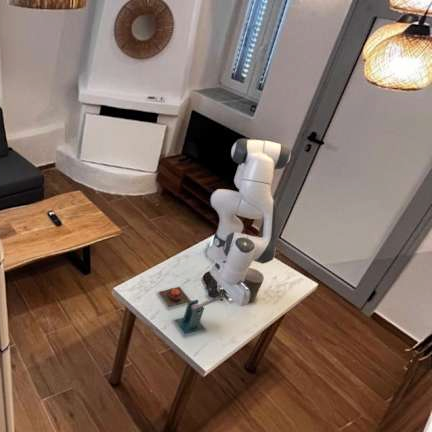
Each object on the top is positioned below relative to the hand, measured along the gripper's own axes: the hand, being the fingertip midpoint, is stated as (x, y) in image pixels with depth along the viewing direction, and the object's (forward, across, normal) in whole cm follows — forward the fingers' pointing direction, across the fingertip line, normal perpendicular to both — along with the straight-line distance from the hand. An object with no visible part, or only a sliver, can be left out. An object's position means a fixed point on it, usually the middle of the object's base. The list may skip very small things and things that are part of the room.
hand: (224, 296), depth 169 cm
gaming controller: (+15, +13, -8) cm, 21 cm away
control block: (+14, +16, +12) cm, 25 cm away
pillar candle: (+15, +8, -21) cm, 27 cm away
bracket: (+14, 0, +14) cm, 20 cm away
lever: (+2, 0, +7) cm, 7 cm away
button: (+11, +16, +12) cm, 23 cm away
